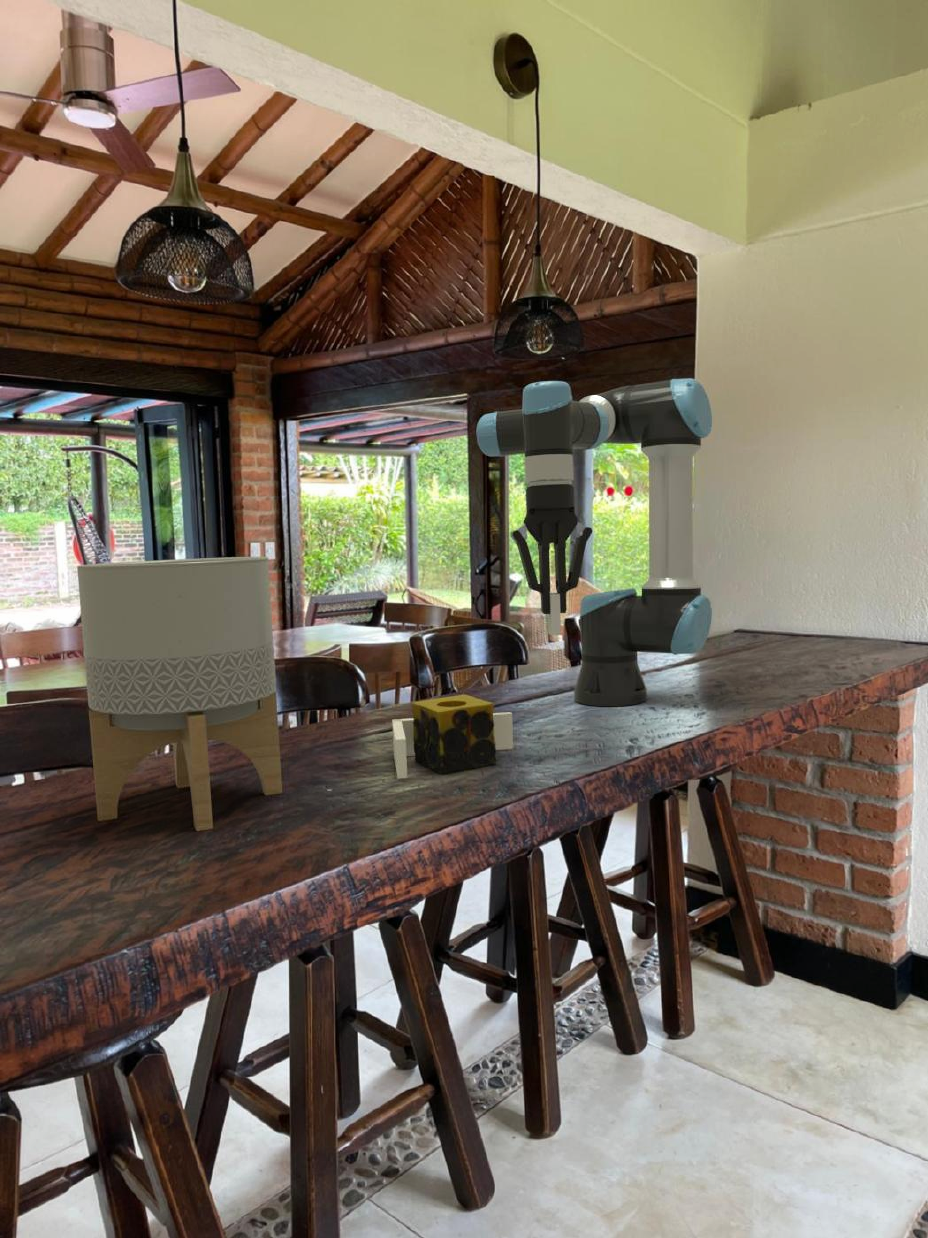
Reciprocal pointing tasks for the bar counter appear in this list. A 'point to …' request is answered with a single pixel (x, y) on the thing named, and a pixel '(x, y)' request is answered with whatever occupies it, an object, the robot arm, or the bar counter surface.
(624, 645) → the robot arm
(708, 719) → the bar counter surface
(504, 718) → the white angular piece
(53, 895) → the bar counter surface
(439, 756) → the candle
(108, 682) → the planter
